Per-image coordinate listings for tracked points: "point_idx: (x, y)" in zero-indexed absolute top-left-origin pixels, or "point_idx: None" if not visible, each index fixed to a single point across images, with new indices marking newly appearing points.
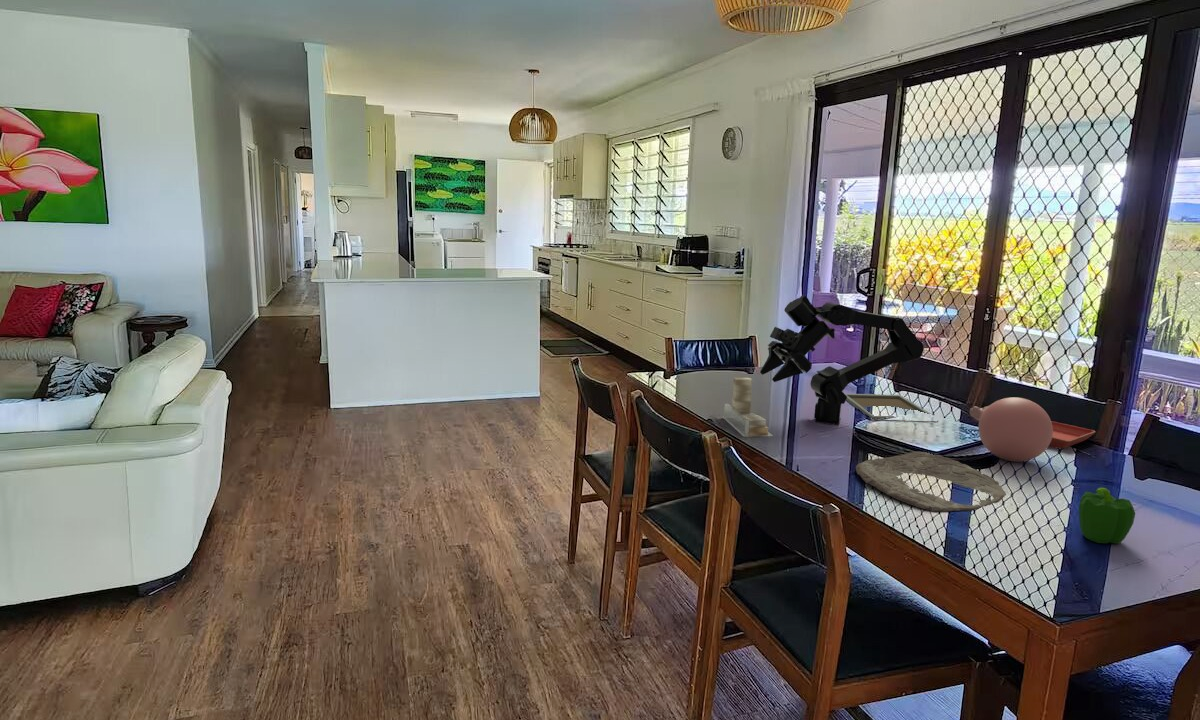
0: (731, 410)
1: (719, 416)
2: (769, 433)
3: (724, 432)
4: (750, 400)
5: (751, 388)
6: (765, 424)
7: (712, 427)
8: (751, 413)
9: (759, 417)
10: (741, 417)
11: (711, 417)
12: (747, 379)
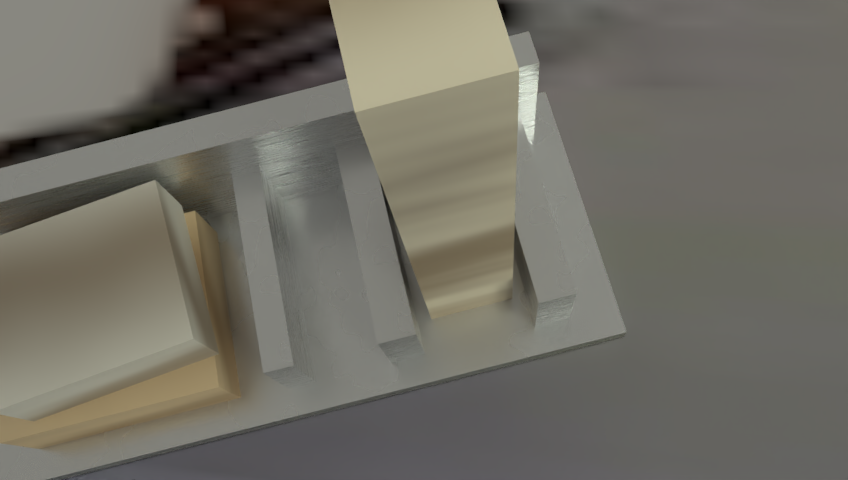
0: (315, 93)
1: (620, 84)
2: (63, 468)
3: (154, 114)
4: (406, 245)
5: (381, 182)
6: (19, 414)
7: (277, 34)
8: (401, 309)
9: (87, 351)
10: (24, 165)
11: (568, 25)
12: (349, 33)
